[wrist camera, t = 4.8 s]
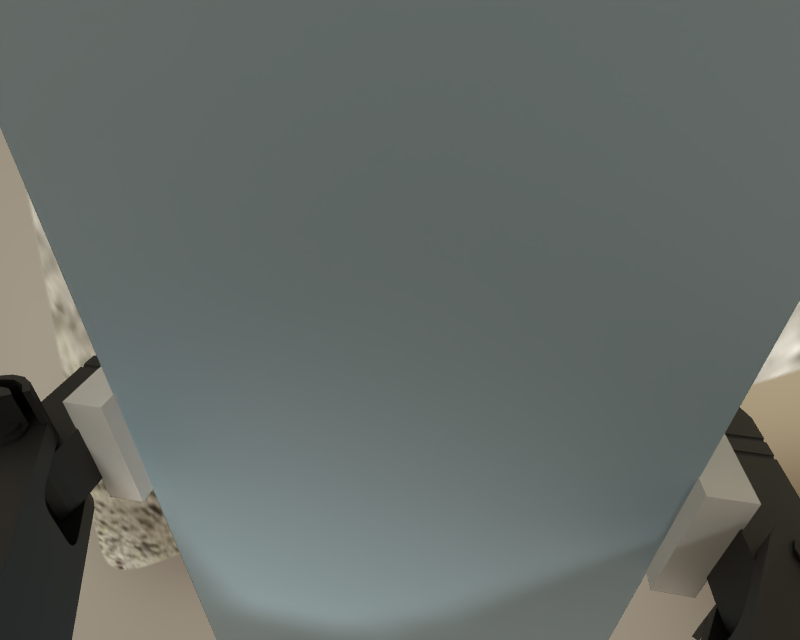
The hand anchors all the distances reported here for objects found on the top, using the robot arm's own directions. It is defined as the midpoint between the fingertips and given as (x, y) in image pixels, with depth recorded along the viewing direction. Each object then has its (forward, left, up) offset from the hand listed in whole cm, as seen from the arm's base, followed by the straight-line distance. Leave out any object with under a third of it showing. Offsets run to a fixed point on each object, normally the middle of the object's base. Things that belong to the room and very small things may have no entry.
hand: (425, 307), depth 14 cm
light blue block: (0, 0, 0) cm, 0 cm away
